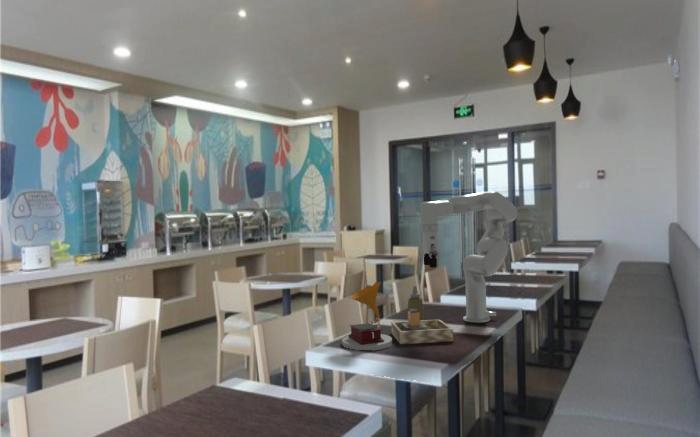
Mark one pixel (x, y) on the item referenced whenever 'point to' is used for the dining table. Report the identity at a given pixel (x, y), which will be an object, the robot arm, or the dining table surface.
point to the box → (423, 332)
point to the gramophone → (367, 325)
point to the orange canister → (413, 318)
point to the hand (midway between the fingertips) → (430, 266)
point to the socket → (406, 328)
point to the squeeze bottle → (416, 303)
